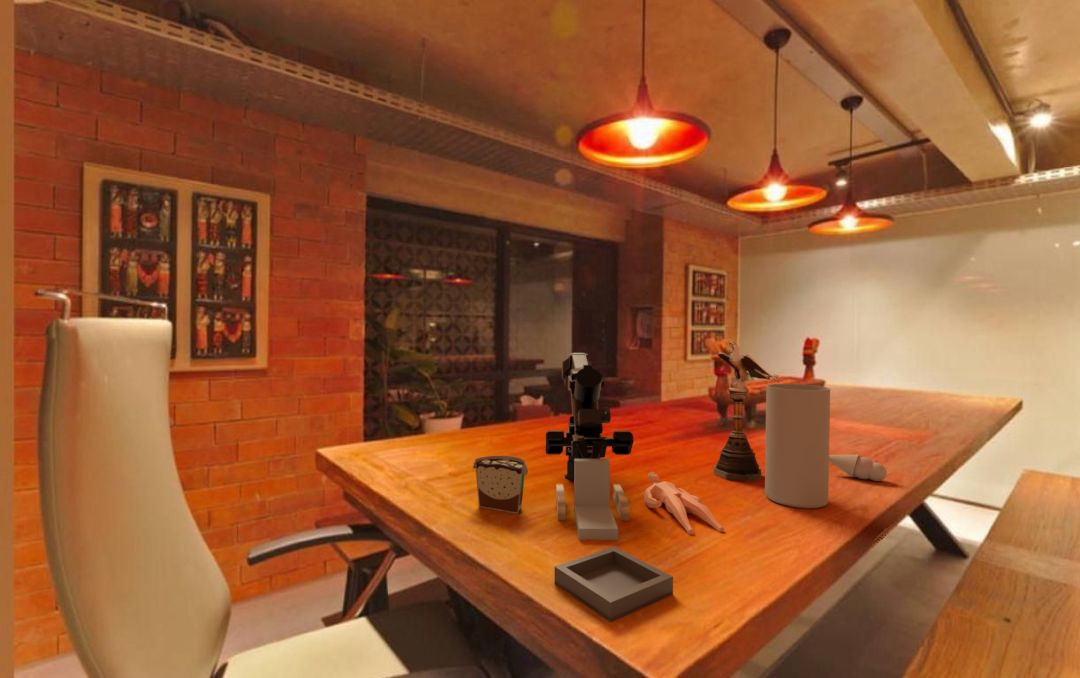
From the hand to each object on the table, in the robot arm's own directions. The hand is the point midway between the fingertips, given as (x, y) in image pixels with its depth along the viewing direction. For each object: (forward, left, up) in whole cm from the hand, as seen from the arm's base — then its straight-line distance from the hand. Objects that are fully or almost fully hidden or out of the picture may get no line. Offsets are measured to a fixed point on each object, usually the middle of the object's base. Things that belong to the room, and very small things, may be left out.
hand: (591, 477), depth 104 cm
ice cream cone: (-71, +19, -7) cm, 74 cm away
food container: (+13, -13, -7) cm, 20 cm away
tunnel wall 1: (+5, -4, -7) cm, 9 cm away
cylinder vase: (-42, +20, -7) cm, 47 cm away
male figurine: (-15, +9, -8) cm, 19 cm away
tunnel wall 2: (-6, +3, -7) cm, 9 cm away
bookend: (+4, +6, -7) cm, 10 cm away
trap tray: (+18, +25, -7) cm, 32 cm away
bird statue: (-51, +1, -7) cm, 52 cm away
